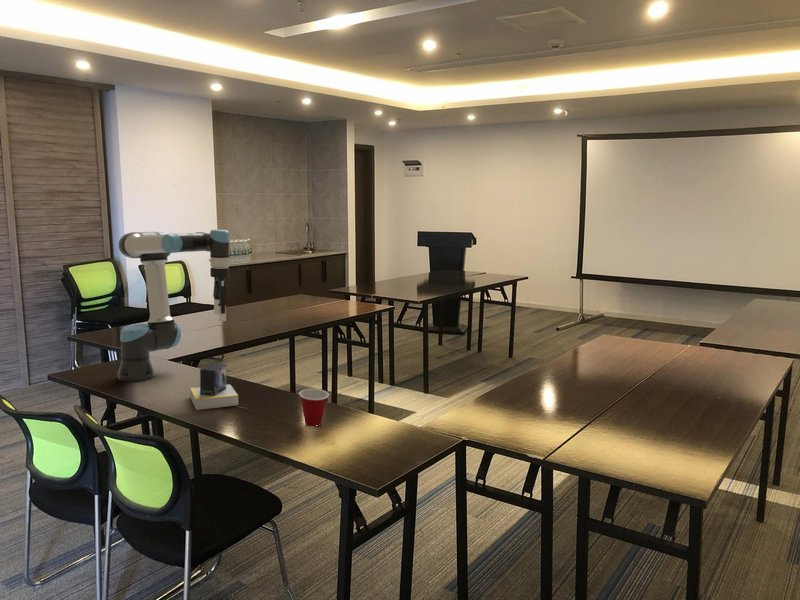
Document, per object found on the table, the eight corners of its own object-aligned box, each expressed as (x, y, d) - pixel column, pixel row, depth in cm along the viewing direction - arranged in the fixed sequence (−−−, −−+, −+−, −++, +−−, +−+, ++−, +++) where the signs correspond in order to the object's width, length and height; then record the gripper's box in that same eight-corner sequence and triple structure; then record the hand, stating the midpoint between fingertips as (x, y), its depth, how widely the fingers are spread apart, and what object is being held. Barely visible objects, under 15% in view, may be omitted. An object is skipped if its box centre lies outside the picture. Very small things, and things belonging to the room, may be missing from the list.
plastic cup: (316, 431, 224) (316, 399, 222) (292, 425, 229) (292, 393, 227) (334, 423, 233) (335, 391, 231) (311, 417, 238) (312, 386, 237)
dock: (190, 397, 256) (190, 387, 256) (230, 393, 263) (230, 384, 263) (196, 409, 242) (196, 399, 242) (238, 405, 249) (238, 395, 249)
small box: (214, 396, 246) (214, 370, 245) (199, 394, 248) (198, 369, 246) (227, 388, 257) (227, 363, 255) (212, 387, 258) (212, 362, 256)
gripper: (206, 263, 269) (206, 312, 273) (215, 271, 247) (215, 324, 250) (224, 263, 272) (224, 311, 276) (234, 271, 250) (234, 323, 254)
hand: (220, 317), depth 263 cm, fingers open, 13 cm apart
